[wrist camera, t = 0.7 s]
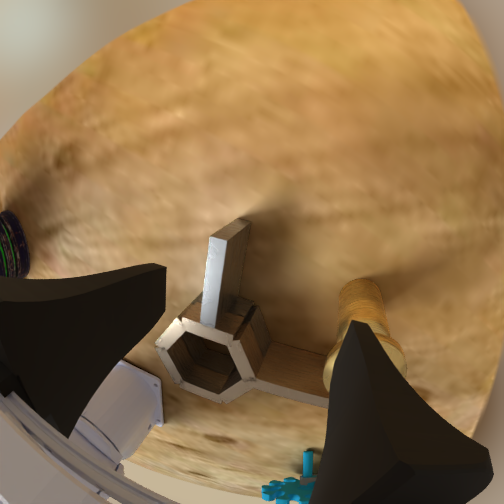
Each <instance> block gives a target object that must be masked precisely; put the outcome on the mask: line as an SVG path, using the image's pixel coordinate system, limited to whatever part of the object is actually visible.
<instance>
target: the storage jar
mask: <svg viewBox="0 0 504 504" xmlns="http://www.w3.org/2000/svg"><path fill="white" fill-rule="evenodd" d="M29 267H30V258H29V250H28V245H27V241H26V237H25V234H24V231H23V229H22V226H21V224H20V222H19V220H18V219H17V217H16V216H15V215H14V214H13V213H12V212H11V211H9V210H6V211H3V212H1V213H0V276H4V277H11V278H21V279H22V278H24V277H26V276H27V274H28V272H29Z"/></svg>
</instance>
